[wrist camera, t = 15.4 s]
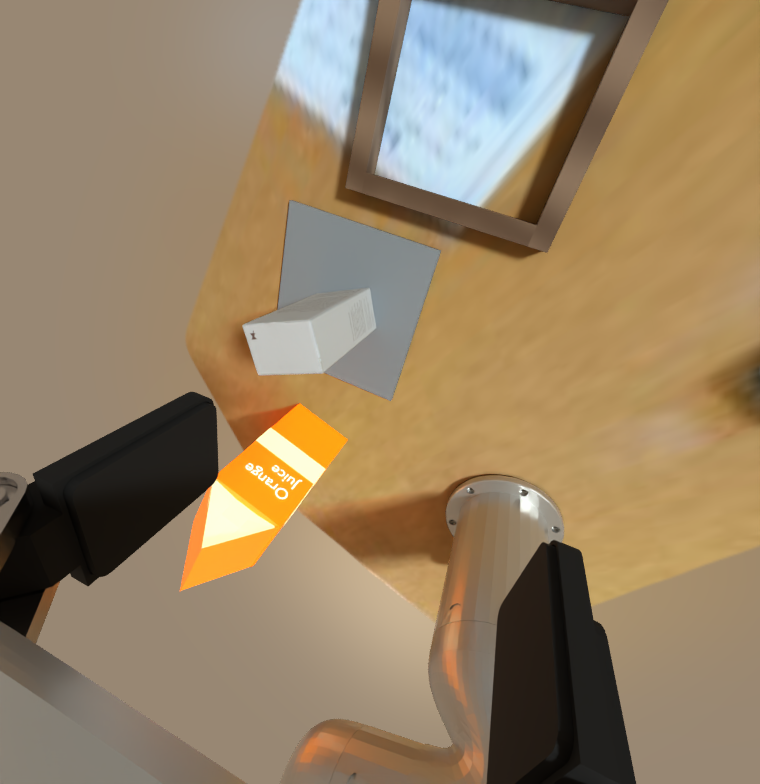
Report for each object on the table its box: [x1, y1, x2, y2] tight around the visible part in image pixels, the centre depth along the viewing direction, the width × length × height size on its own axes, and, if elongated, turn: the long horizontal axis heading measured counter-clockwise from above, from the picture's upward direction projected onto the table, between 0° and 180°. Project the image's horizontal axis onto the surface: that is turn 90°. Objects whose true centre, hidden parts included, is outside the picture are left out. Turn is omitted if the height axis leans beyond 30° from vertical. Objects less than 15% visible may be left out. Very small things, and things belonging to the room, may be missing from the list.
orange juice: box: [180, 403, 348, 591], centre depth 38 cm, size 8×9×20 cm
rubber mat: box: [278, 200, 441, 401], centre depth 36 cm, size 16×15×1 cm
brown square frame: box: [345, 0, 668, 253], centre depth 25 cm, size 15×17×2 cm
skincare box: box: [242, 288, 376, 375], centre depth 31 cm, size 6×4×12 cm
